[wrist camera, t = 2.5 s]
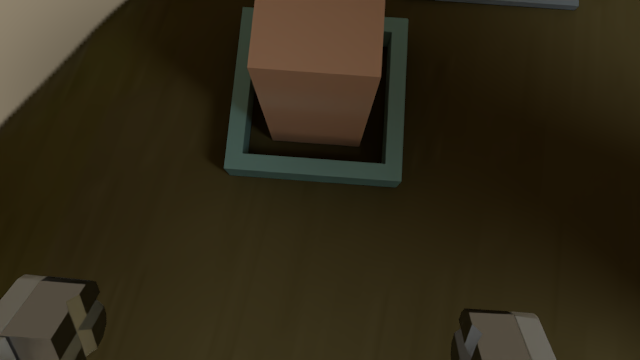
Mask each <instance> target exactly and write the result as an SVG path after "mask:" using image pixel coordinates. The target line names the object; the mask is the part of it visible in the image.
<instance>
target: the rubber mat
mask: <svg viewBox="0 0 640 360" xmlns="http://www.w3.org/2000/svg"><path fill="white" fill-rule="evenodd" d="M437 1H451V2H465V3H480V4H494V5H509V6H523V7H537V8H552V9H566V10H575V9H576V8H577V7H578V6H579V0H437Z"/></svg>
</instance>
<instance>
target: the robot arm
mask: <svg viewBox="0 0 640 360" xmlns="http://www.w3.org/2000/svg"><path fill="white" fill-rule="evenodd" d="M99 293H100V291H99V288H98V285H97V283H96V282H95V281H90V280H80V279H70V278H60V277H51V276H38V275H27V274H25V275H23V276H22V277H20V278H18V279H17V280H16V281H15V283H14V284H13V285H12V286H11V288H10V289H9V290H8V291H7V292H6V294H5V295H4V296H3V297H2V299H1V300H0V360H87V359H86V356H87V355H88V354H90V353H91V352H93V351H94V350H95V349H97V348H98V346H99V344H100V342H101V340H102V338H103V335H104V331H105V327H106V311H105V308H104V306H103V305H102V304H101V303H100V302H99V301H98V300H96V298H97V297H98V295H99ZM459 323H460V327H461V329H459V330H458V331H456V332H455V333H454V336H453V339H452V343H451V360H556V358H555V355H554V353H553V351H552V348H551V346H550V344H549V342H548V339H547V337H546V335H545V332H544V330H543V328H542V325H541V323H540V321H539V318H538V317H537V316H536V315H535V314H534V313H522V312H508V311H497V310H481V309H466V308H465V309H464V310H463V311H462V312H461V315H460V317H459Z"/></svg>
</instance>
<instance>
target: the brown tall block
mask: <svg viewBox="0 0 640 360" xmlns="http://www.w3.org/2000/svg"><path fill="white" fill-rule="evenodd" d="M384 15H385V0H255V3H254V12H253V20H252V29H251V38H250V47H249V56H248V65H247V69H248V71H249V74H250V77H251V80H252V83H253V86H254V88H255V91H256V94H257V97H258V100H259V103H260V106H261V108H262V111H263V114H264V117H265V120H266V123H267V125H268V128H269V131H270V134H271V137H272V140H275V141H289V142H302V143H316V144H329V145H343V146H357V147H359V145H360V142H361V139H362V136H363V133H364V130H365V126H366V123H367V120H368V117H369V114H370V111H371V108H372V104H373V101H374V98H375V95H376V92H377V89H378V86H379V82H380V79H381V71H382V53H383V34H384Z"/></svg>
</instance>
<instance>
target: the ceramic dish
mask: <svg viewBox="0 0 640 360" xmlns="http://www.w3.org/2000/svg"><path fill="white" fill-rule="evenodd" d="M253 12H254V8H250V7H243V10H242V18H241V26H240V35H239V43H238V52H237V60H236V69H235V77H234V86H233V94H232V103H231V111H230V120H229V128H228V137H227V145H226V154H225V162H224V169H225V170H226V171H227V172H228V173H229V175H235V176H248V177H262V178H275V179H288V180H302V181H315V182H329V183H342V184H355V185H369V186H382V187H397V186H398V185H399V184H400V183H401V180H402V157H403V134H404V110H405V87H406V64H407V40H408V19H407V18H393V17H384V34H383V47H387V66H386V86H385V105H384V124H383V144H382V163H381V164H380V163H366V162H353V161H339V160H326V159H312V158H298V157H285V156H271V155H258V154H248V150H249V140H250V131H251V122H252V113H253V104H254V94H255V88H254V86H253V83H252V80H251V77H250V74H249V71H248V69H247V65H248V56H249V47H250V38H251V29H252V20H253Z"/></svg>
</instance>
